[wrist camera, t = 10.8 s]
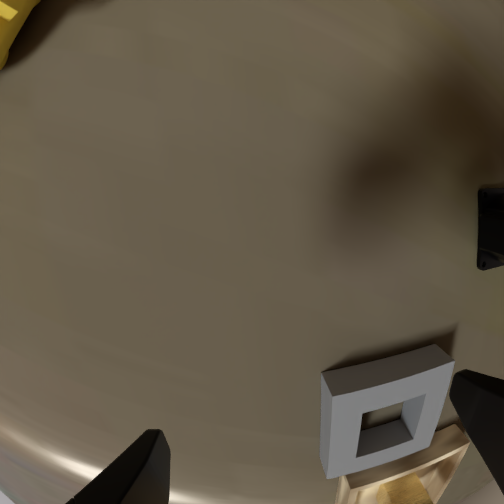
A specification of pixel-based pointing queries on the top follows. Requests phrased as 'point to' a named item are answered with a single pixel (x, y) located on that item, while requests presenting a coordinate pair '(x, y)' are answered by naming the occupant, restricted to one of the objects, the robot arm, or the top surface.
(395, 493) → the pin
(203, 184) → the top surface
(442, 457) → the tray
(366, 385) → the frame
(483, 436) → the robot arm
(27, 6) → the teapot
